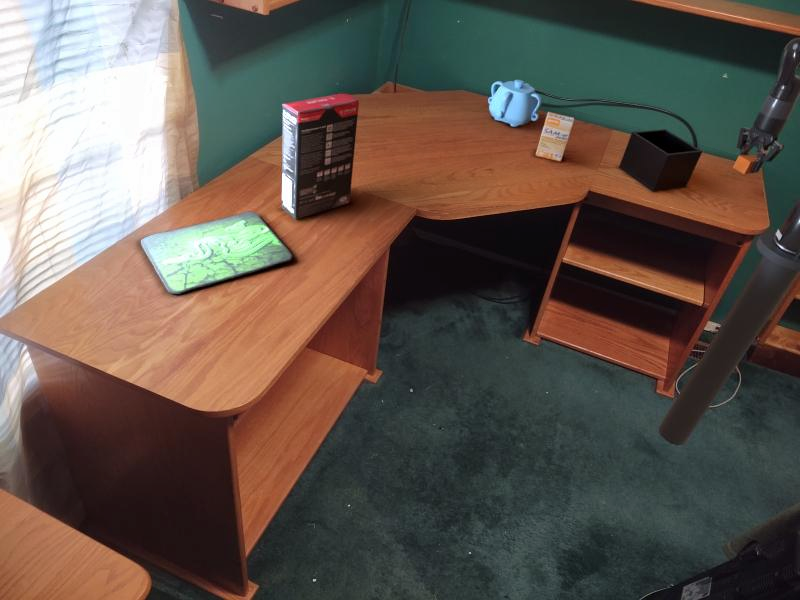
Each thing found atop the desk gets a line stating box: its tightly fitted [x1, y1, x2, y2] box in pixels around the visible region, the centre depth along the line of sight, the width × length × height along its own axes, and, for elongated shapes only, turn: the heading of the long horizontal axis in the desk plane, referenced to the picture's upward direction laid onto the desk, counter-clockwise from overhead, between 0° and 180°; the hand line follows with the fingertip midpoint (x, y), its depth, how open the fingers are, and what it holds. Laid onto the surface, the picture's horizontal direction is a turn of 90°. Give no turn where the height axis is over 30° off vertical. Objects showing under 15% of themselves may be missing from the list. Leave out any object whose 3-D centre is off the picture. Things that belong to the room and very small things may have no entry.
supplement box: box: [535, 111, 575, 163], centre depth 184 cm, size 8×5×13 cm, turn 73°
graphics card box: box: [281, 92, 360, 220], centre depth 141 cm, size 17×7×27 cm, turn 131°
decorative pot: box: [487, 79, 543, 128], centre depth 204 cm, size 16×16×14 cm
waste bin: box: [618, 128, 703, 193], centre depth 181 cm, size 16×14×12 cm
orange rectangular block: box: [732, 153, 760, 175], centre depth 178 cm, size 4×6×4 cm
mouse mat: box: [140, 211, 293, 295], centre depth 130 cm, size 27×22×1 cm
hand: (746, 168), depth 179 cm, fingers closed on orange rectangular block, 4 cm apart
